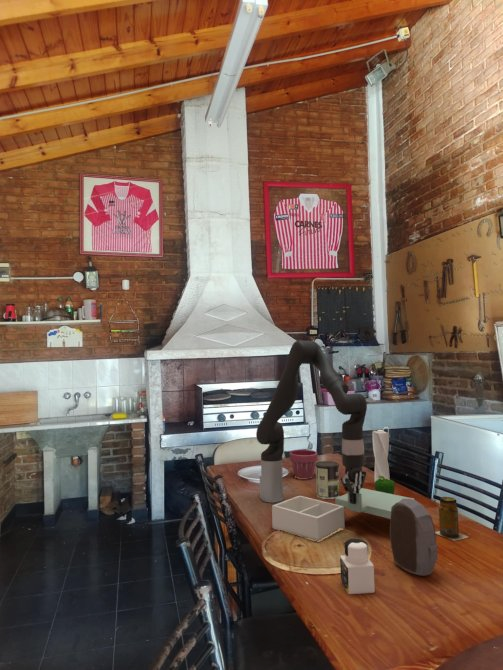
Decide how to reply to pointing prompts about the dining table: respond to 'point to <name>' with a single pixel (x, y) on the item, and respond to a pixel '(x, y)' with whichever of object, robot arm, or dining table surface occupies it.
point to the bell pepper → (385, 485)
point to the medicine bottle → (357, 568)
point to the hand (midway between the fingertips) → (354, 502)
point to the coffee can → (327, 479)
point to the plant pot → (303, 462)
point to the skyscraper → (381, 453)
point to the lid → (371, 502)
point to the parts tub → (307, 517)
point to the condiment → (449, 519)
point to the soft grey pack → (413, 537)
